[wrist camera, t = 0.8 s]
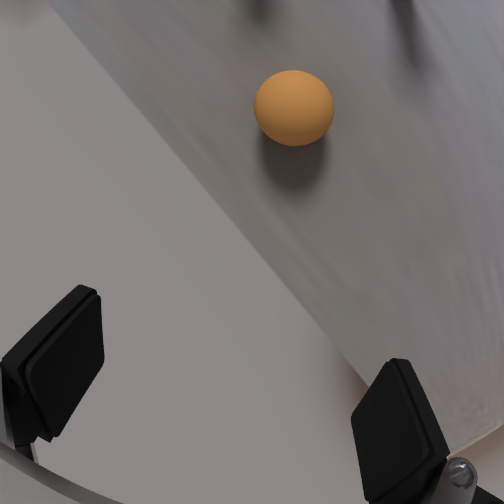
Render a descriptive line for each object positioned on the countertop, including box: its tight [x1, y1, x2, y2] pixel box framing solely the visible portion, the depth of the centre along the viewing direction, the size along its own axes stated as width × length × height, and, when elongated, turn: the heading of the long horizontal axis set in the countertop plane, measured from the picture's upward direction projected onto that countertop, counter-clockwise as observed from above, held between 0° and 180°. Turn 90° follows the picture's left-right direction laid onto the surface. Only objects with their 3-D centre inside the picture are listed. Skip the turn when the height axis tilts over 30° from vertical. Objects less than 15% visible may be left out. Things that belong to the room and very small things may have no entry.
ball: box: [254, 70, 334, 146], centre depth 19 cm, size 6×6×6 cm
